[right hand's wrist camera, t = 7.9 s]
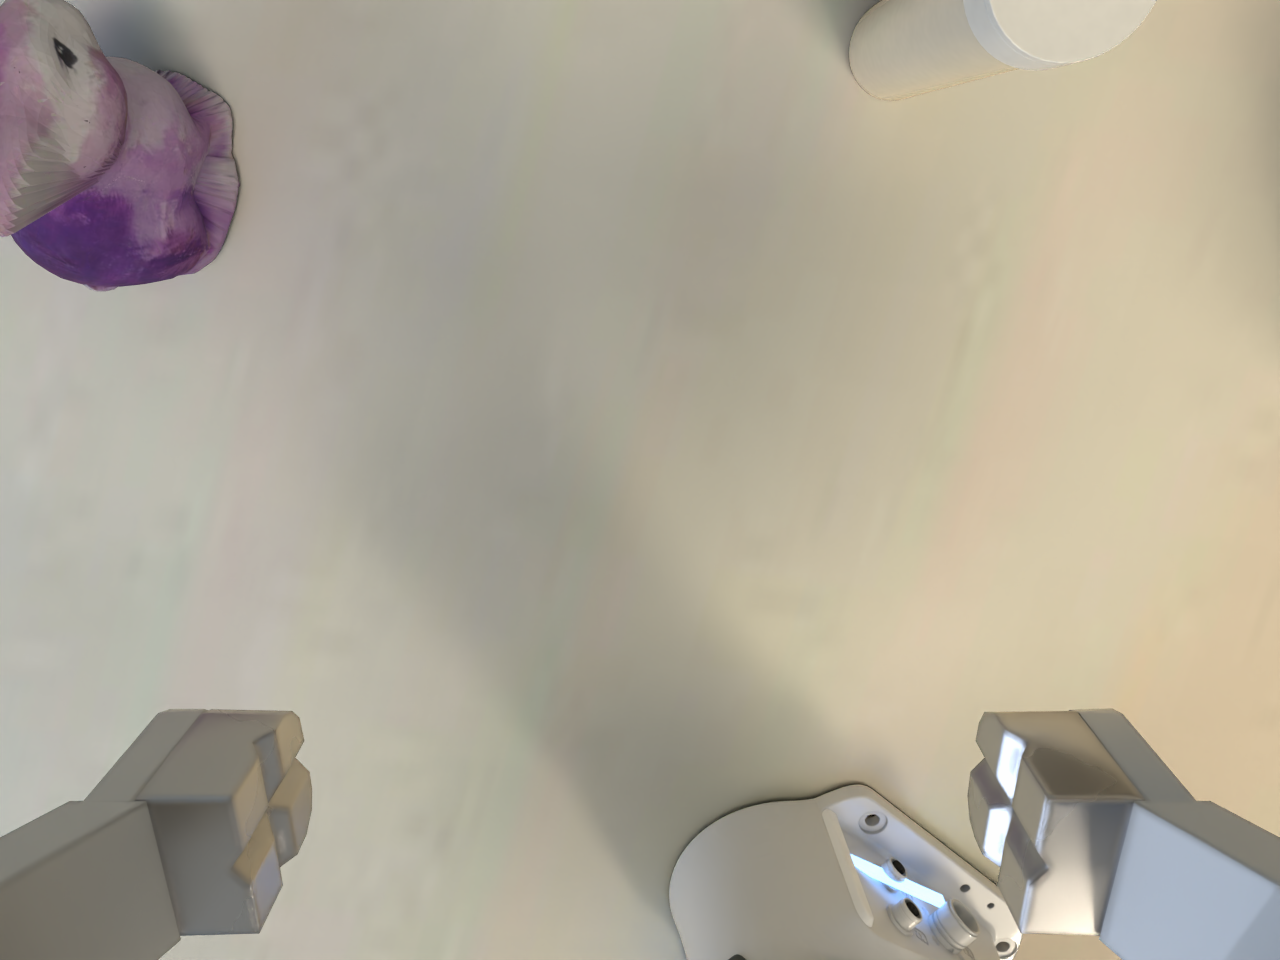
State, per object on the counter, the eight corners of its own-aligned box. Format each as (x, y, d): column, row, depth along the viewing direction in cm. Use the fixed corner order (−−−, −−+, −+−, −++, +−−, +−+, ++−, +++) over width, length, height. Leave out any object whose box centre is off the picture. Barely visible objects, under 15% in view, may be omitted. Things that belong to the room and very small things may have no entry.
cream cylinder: (830, 40, 40) (958, -51, 23) (911, -25, 39) (1106, -168, 22) (880, 120, 41) (1038, 90, 24) (960, 59, 40) (1182, -16, 23)
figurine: (205, 19, 40) (-44, -60, 25) (289, 248, 43) (109, 290, 29) (15, 75, 40) (-328, 28, 26) (111, 295, 44) (-148, 357, 30)
